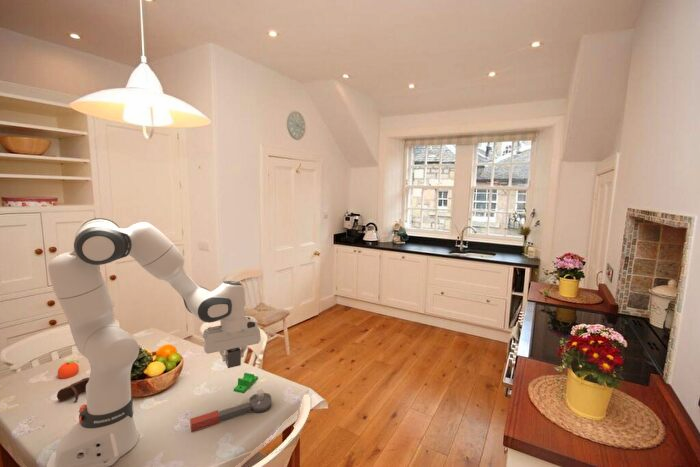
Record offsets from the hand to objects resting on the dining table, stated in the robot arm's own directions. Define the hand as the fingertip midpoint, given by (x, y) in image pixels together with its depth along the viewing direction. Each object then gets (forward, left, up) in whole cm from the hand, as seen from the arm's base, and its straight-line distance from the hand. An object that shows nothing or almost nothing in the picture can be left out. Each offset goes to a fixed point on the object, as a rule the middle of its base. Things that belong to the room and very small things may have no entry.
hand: (233, 358), depth 123 cm
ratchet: (+8, -7, -18) cm, 21 cm away
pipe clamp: (+11, +8, -15) cm, 21 cm away
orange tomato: (-57, +53, -18) cm, 80 cm away
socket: (0, 0, -2) cm, 2 cm away
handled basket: (-47, +29, -19) cm, 58 cm away
